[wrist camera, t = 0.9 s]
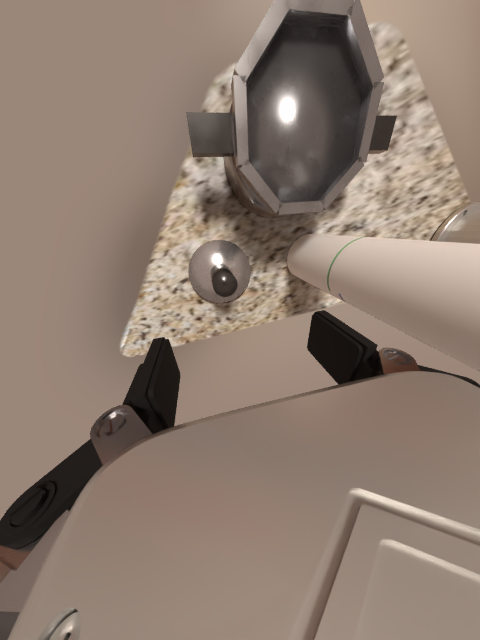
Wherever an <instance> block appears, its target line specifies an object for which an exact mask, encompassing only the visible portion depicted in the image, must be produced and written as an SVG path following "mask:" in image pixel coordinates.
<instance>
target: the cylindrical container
mask: <svg viewBox="0 0 480 640" xmlns="http://www.w3.org/2000/svg"><path fill="white" fill-rule="evenodd" d="M287 265H288V269H289V271H290V272H291V273H292V274H293V275H294V276H296V277H298V278H300V279H302V280H304V281H306V282H308V283H310V284H311V285H313V286H315V287H317V288H319V289H321V290H323V291H325V292H327V293H329V294H331V295H333V296H335V297H337V298H339V299H341V300H343V301H344V302H346V303H349V304H350V305H352V306H354V307H356V308H358V309H360V310H362V311H364V312H366V313H368V314H370V315H371V316H374V317H375V318H377V319H379V320H381V321H383V322H385V323H387V324H389V325H391V326H393V327H395V328H397V329H398V330H400V331H402V332H404V333H406V334H408V335H410V336H412V337H414V338H416V339H418V340H420V341H422V342H424V343H426V344H427V345H430V346H431V347H433V348H435V349H437V350H439V351H441V352H443V353H445V354H447V355H449V356H451V357H453V358H455V359H457V360H459V361H461V362H462V363H464V364H466V365H468V366H470V367H472V368H474V369H476V370H478V371H480V244H472V243H456V242H439V241H423V240H406V239H390V238H373V237H356V236H338V235H320V234H306V235H303V236H301V237H300V238H298V239H297V240H296V241H295V242H294V243H293V244H292V246H291V248H290V249H289V252H288V256H287Z"/></svg>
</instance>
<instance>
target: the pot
mask: <svg viewBox="0 0 480 640" xmlns="http://www.w3.org/2000/svg"><path fill="white" fill-rule="evenodd" d="M383 78H384V76H383V72H382V69H381V66H380V63H379V60H378V56H377V53H376V50H375V47H374V44H373V40H372V37H371V34H370V31H369V28H368V25H367V21H366V18H365V15H364V12H363V9H362V6H361V2H360V0H355V1H354V0H274V2H273V4H272V6H271V7H270V9H269V11H268V12H267V14H266V16H265V17H264V19H263V21H262V23H261V25H260V26H259V28H258V29H257V31H256V33H255V35H254V36H253V38H252V40H251V41H250V43H249V45H248V47H247V48H246V50H245V52H244V54H243V56H242V57H241V59H240V60H239V62H238V64H237V65H236V67H235V69H234V74H233V78H232V83H231V90H232V104H231V108H230V112H229V113H195V112H187V121H188V127H189V134H190V141H191V147H192V154H193V157H224V164H225V170H226V174H227V177H228V180H229V183H230V186H231V188H232V190H233V192H234V193H235V195H236V197H237V198H238V199H239V201H240V202H241V203H242V204H243V205H244V206H245V207H246V208H247V209H248V210H250V211H251V212H253V213H255V214H256V215H259V216H262V217H267V218H275V217H283V216H291V215H298V214H304V213H313V212H323V210H326V209H327V208H328V207H329V205H330V204H331V203H332V202H333V201H334V200H335V199H336V197H337V196H338V195H339V194H340V193H341V192H342V191H343V189H344V188H345V187H346V186H347V185H348V184H349V182H350V181H351V180H352V179H353V178H354V177H355V176H356V174H357V173H358V172H359V171H360V170H361V169H362V167H363V166H364V164H363V163H364V162H366V160H367V156H368V154H380V153H382V152H384V151H387V150H388V147H389V143H390V139H391V136H392V132H393V128H394V124H395V120H396V117H397V116H377V111H378V107H379V102H380V98H381V94H382V89H383V85H384V82H380V81H381V80H382V79H383Z"/></svg>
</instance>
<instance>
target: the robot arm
mask: <svg viewBox="0 0 480 640" xmlns="http://www.w3.org/2000/svg"><path fill="white" fill-rule="evenodd" d="M431 241H439V242H456V243H472V244H480V202H474V203H470V204H467V205H465V206H463V207H461V208H460V209H458V210H457V211H455V212H454V213H453V214H452V215H451V216H449V217H448V218H447V219H446V220H445V221H444V223H443V224H442V225H441V226H440V227H439V229H438V230H437V231H436V233H435V235H434V236H433V238H432V240H431ZM307 348H308V351H310V353H311V354H312V355H313V356H314V357H315V359H316V360H317V361H318V362H319V363H320V364H321V365H322V366H323V368H324V369H325V370H326V371H327V372H328V373H329V374H330V375H331V376H332V378H333V379H334V380H335V381H336V382H337V383H338V384H339V385H336V386H331V387H328V388H323V389H319V390H315V391H311V392H306V393H302V394H298V395H294V396H290V397H286V398H282V399H278V400H274V401H269V402H265V403H261V404H258V405H253V406H249V407H245V408H242V409H238V410H233V411H229V412H225V413H221V414H218V415H214V416H210V417H207V418H202V419H199V420H195V421H191V422H187V423H184V424H181V425H177V426H174V423H175V414H176V407H177V398H178V391H179V383H180V371H179V369H178V365H177V362H176V360H175V356H174V353H173V350H172V347H171V344H170V342H169V339H165V338H164V337H162V338H156V339H153V341H152V344H151V346H150V349H149V351H148V353H147V356H146V358H145V361H144V363H143V364H140V366H139V367H138V370H137V372H136V374H135V377H134V379H133V381H132V384H131V386H130V388H129V391H128V393H127V395H126V398H125V400H124V402H123V405H119V406H116V407H114V408H111V409H110V410H108V411H106V412H105V413H104V414H103V415H102V416H100V417H99V418H98V419H97V420H96V422H95V423H94V425H93V426H92V428H91V431H90V438H91V439H90V440H89V441H88V442H86V443H85V444H83V445H82V446H81V447H80V448H79V449H78V450H76V451H75V452H74V453H73V454H71V455H70V456H69V457H68V458H66V459H65V460H64V461H62V462H61V463H60V464H59V465H57V466H56V467H55V468H54V469H53V470H52V471H50V472H49V473H48V474H47V475H45V476H44V477H43V478H41V479H40V480H39V481H38V482H36V483H35V484H34V485H33V486H31V487H30V488H29V489H28V490H26V491H25V492H24V493H23V494H22V495H21V496H20V497H19V498H18V499H17V500H16V501H15V502H14V503H13V504H12V505H11V507H10V508H9V509H8V510H7V511H6V513H5V515H4V516H3V517H2V519H1V520H0V640H480V385H479V384H478V383H477V382H475V381H473V380H472V379H469V378H467V377H463V376H459V375H455V374H451V373H447V372H443V371H439V370H435V369H432V368H427V367H423V366H420V365H417V363H416V361H415V359H414V358H413V357H412V356H410V355H409V354H407V353H406V352H403V351H401V350H398V349H394V348H382V349H380V350H379V352H378V351H377V350H376V348H377V344H375V343H374V342H372V341H370V340H369V339H367V338H366V337H364V336H363V335H361V334H360V333H358V332H357V331H355V330H354V329H352V328H351V327H349V326H348V325H346V324H345V323H343V322H342V321H340V320H339V319H337V318H336V317H334V316H332V315H331V314H329V313H328V312H326V311H317V312H315V313H314V314H313V315H312V320H311V326H310V333H309V339H308V346H307ZM78 611H79V612H78Z"/></svg>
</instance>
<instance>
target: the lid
mask: <svg viewBox="0 0 480 640" xmlns="http://www.w3.org/2000/svg"><path fill="white" fill-rule="evenodd" d="M189 279H190V282H191V284H192V286H193V288H194V290H195V291H196V292H197V293H198V294H199V295H200V296H201V297H203V298H204V299H206V300H208V301H211V302H216V303H224V302H228V301H231V300H233V299H235V298H237V297H238V296H240V295H241V294H242V293H243V291H244V290H245V289H246V287H247V285H248V283H249V279H250V264H249V261H248V258H247V257H246V255H245V253H244V252H243V251H242V250H241V249H240V248H239V247H238V246H236V245H235V244H233V243H231V242H229V241H225V240H213V241H209V242H207V243H204V244H203V245H201V246H200V247H199V248H198V249H197V250H196V251H195V252H194V254H193V256H192V258H191V260H190V264H189Z"/></svg>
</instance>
